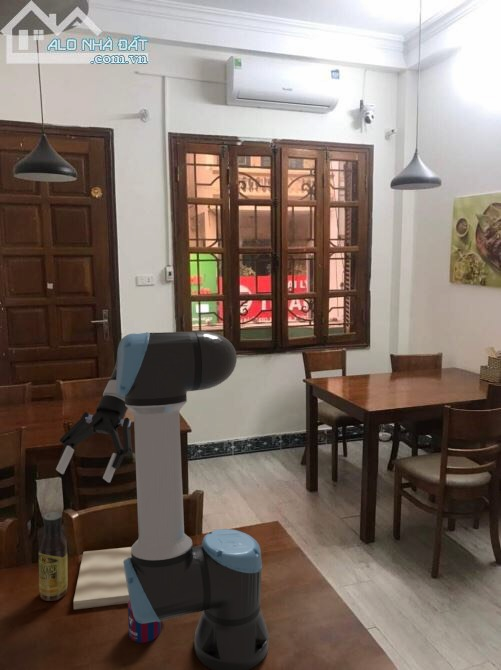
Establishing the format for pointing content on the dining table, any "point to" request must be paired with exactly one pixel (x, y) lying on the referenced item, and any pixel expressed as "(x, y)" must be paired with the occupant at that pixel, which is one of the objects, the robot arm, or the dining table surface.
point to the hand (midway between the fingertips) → (82, 476)
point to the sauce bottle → (53, 559)
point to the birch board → (102, 579)
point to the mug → (142, 628)
